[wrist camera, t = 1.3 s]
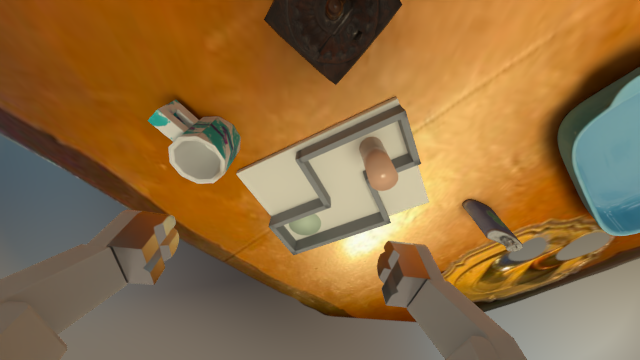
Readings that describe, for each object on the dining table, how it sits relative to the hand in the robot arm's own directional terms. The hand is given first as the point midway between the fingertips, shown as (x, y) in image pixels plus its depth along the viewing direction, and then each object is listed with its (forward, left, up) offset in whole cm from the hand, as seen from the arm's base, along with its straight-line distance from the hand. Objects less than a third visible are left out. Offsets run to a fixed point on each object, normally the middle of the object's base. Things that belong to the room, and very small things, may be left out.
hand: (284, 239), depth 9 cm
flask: (-20, +39, -32) cm, 55 cm away
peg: (-4, +14, -31) cm, 34 cm away
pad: (+15, +25, -31) cm, 42 cm away
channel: (+5, +20, -32) cm, 38 cm away
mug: (+20, -1, -32) cm, 38 cm away
